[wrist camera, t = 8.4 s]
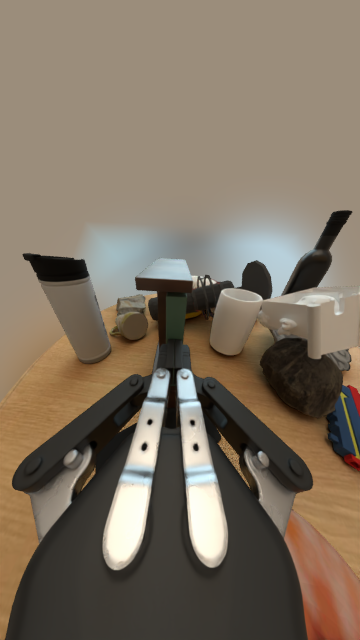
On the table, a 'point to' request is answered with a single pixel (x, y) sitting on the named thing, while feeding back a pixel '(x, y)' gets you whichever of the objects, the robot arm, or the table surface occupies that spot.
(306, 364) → the rock
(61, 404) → the table surface
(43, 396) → the table surface
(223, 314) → the cup
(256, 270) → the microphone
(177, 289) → the window frame
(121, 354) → the table surface
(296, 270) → the wine bottle
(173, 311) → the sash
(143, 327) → the mug
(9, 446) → the table surface
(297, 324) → the white plastic housing
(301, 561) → the tomato
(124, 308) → the stone
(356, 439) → the toy gun
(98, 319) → the travel mug
